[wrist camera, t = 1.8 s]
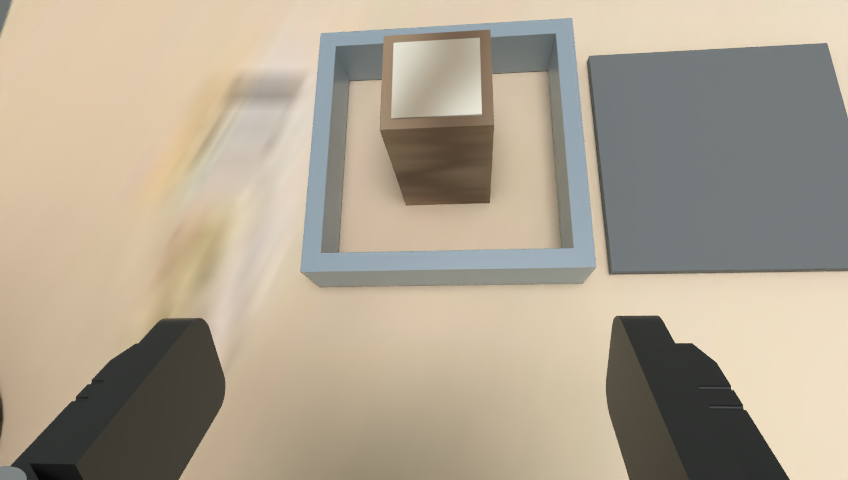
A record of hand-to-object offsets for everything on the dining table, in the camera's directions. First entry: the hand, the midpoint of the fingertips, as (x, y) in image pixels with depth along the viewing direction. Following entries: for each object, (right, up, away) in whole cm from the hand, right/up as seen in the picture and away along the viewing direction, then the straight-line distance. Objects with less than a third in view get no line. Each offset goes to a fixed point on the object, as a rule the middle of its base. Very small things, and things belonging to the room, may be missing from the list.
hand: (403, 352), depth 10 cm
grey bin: (+2, +7, +22) cm, 23 cm away
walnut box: (+2, +7, +22) cm, 23 cm away
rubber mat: (+18, +7, +20) cm, 28 cm away
